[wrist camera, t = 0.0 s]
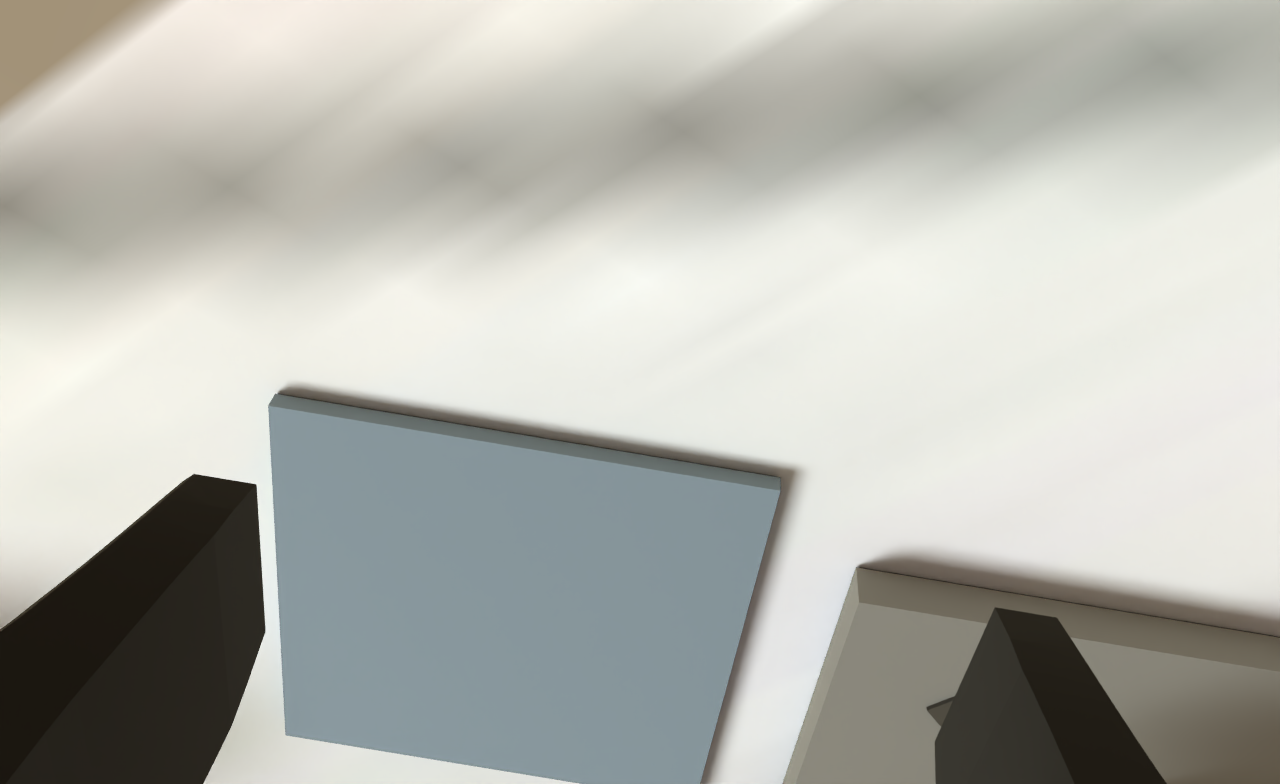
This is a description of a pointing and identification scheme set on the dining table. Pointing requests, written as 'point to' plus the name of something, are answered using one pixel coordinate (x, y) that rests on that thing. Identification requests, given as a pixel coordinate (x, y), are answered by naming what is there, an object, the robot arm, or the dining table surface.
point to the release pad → (507, 594)
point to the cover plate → (1107, 639)
